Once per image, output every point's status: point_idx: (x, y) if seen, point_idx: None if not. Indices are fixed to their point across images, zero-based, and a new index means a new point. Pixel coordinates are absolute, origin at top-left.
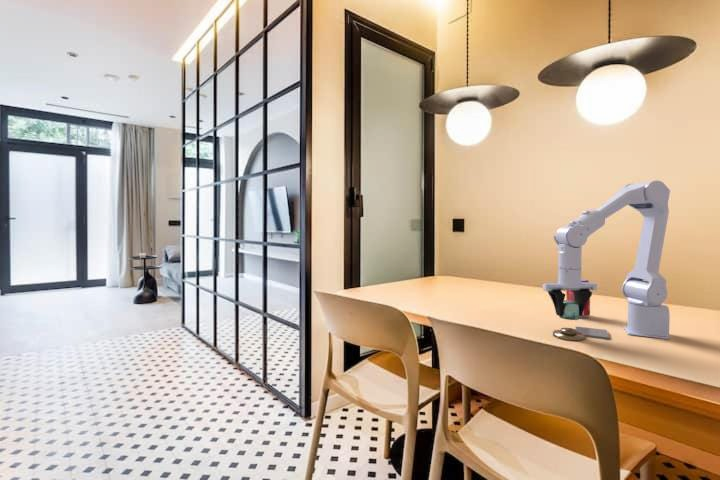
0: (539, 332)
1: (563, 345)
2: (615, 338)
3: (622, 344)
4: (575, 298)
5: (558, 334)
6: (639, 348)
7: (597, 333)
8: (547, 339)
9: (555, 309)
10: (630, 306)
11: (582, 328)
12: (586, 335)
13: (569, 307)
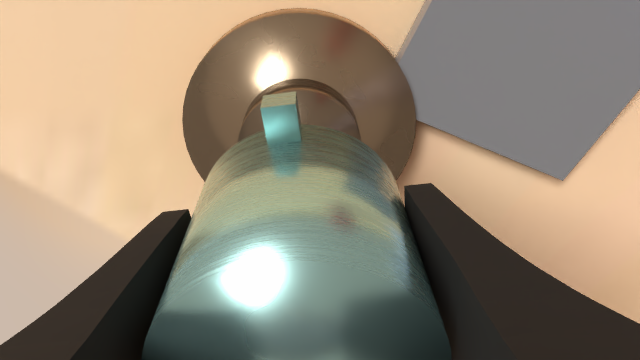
0: (86, 21)
1: None
2: (623, 142)
3: (557, 245)
4: (485, 337)
5: (214, 154)
6: (591, 292)
7: (554, 90)
8: (126, 193)
9: (128, 248)
10: None
11: None
12: (438, 127)
13: None
